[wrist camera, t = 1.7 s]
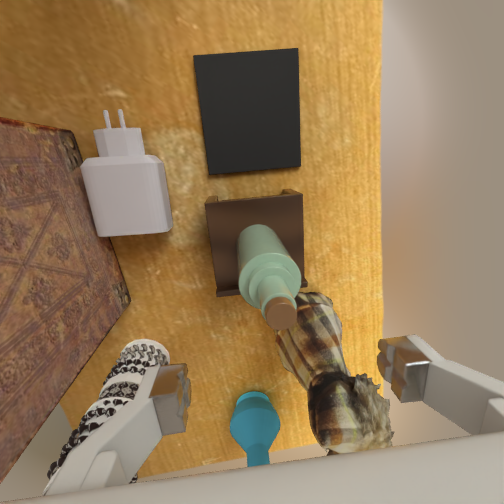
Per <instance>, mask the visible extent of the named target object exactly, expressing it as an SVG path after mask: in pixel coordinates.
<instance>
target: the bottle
mask: <svg viewBox="0 0 504 504" xmlns="http://www.w3.org/2000/svg"><path fill="white" fill-rule="evenodd" d="M236 252H237V267H238V283H239V290H240V293H241V295H242V297H243V298H244V300H245V301H246V302H247V303H249V304H250V305H251V306H253V307H255V308H258V309H261V313H262V316H263V318H264V319H265V320H266V322H267V324H268V325H269V326H270V327H271V328H273V329H275V330H286V329H288V328H290V327H291V326H292V325H293V324H294V323H295V321H296V319H297V311H296V309H297V306H296V302H295V300H294V298H295V297H296V295H297V294H298V292H299V289H300V286H301V274H300V270H299V268H298V266H297V265H296V263H295V262H294V260H293V259H292V257H291V255H290V254H289V252H288V251H287V249H286V248H285V246H284V245H283V243H282V242H281V240H280V239H279V237H278V235H277V234H276V233H275V231H274V230H273V229H271V228H270V227H268V226H265V225H260V224H257V225H252V226H249V227H247V228H246V229H244V230H243V231H242V232H241V233H240V235H239V237H238V239H237V242H236Z"/></svg>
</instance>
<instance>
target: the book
mask: <svg viewBox="0 0 504 504" xmlns="http://www.w3.org/2000/svg"><path fill="white" fill-rule="evenodd" d="M82 164H83V160H82V157H81V154H80V151H79V149H78V146H77V143H76V140H75V137H74V134H73V133H72V132H71V131H70V130H64V129H59V128H54V127H49V126H44V125H39V124H34V123H28V122H23V121H18V120H13V119H8V118H3V117H0V484H1V482H2V481H3V480H4V478H5V477H6V475H7V474H8V473H9V471H10V470H11V468H12V467H13V466H14V464H15V463H16V461H17V460H18V459H19V457H20V456H21V454H22V453H23V451H24V450H25V449H26V447H27V446H28V445H29V443H30V442H31V440H32V439H33V438H34V436H35V435H36V433H37V432H38V431H39V429H40V428H41V426H42V425H43V423H44V422H45V421H46V419H47V418H48V417H49V415H50V414H51V412H52V411H53V410H54V408H55V407H56V405H57V404H58V403H59V401H60V400H61V398H62V397H63V396H64V394H65V393H66V391H67V390H68V389H69V387H70V386H71V384H72V383H73V382H74V380H75V379H76V377H77V376H78V375H79V373H80V372H81V370H82V369H83V368H84V366H85V365H86V363H87V362H88V361H89V359H90V358H91V356H92V355H93V354H94V352H95V351H96V349H97V348H98V347H99V345H100V344H101V342H102V341H103V340H104V338H105V337H106V335H107V334H108V333H109V331H110V330H111V328H112V327H113V326H114V324H115V323H116V321H117V320H118V319H119V317H120V316H121V314H122V313H123V312H124V310H125V309H126V307H127V306H128V305H129V303H130V302H131V298H130V295H129V292H128V289H127V286H126V283H125V281H124V278H123V275H122V272H121V269H120V266H119V263H118V260H117V258H116V255H115V252H114V249H113V246H112V243H111V240H110V237H109V236H108V237H99V236H98V235H97V231H96V227H95V223H94V219H93V215H92V211H91V207H90V204H89V200H88V196H87V192H86V188H85V184H84V180H83V176H82V173H81V169H80V166H81V165H82Z"/></svg>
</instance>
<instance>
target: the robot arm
mask: <svg viewBox="0 0 504 504" xmlns="http://www.w3.org/2000/svg"><path fill="white" fill-rule="evenodd" d="M378 348H379V349H380V351H381V352H380V353H379V354H378V356H377V365H378V369H379V372H380V374H381V375H382V377H383V378H384V380H386V381H388V382H389V383H391V389H392V391H393V392H394V394H395V395H396V396H397V398H398V399H399V400H400V401H401V403H404V402H415V401H423V402H424V403H425V404H427V405H429V406H430V407H431V408H433V409H434V410H436V411H437V412H439V413H440V414H442V415H443V416H445V417H446V418H448V419H449V420H451V421H452V422H454V423H455V424H457V425H458V426H459V427H461V428H462V429H464V430H465V431H467V432H468V433H470V434H471V435H470V436H463V437H456V438H449V439H443V440H435V441H428V442H421V443H415V444H407V445H400V446H393V447H386V448H379V449H371V450H364V451H357V452H350V453H343V454H336V455H329V456H322V457H315V458H309V459H301V460H294V461H287V462H280V463H273V464H266V465H259V466H252V467H245V468H238V469H230V470H223V471H217V472H209V473H202V474H195V475H188V476H182V477H174V478H167V479H161V480H153V481H146V482H139V483H132V484H129V482H130V481H131V480H132V478H133V477H134V475H135V474H136V473H137V471H138V470H139V469H140V467H141V466H142V465H143V463H144V462H145V460H146V459H147V458H148V456H149V455H150V454H151V452H152V451H153V449H154V448H155V447H156V445H157V444H158V443H159V441H160V440H161V438H162V436H163V435H169V434H176V433H182V432H185V431H186V425H187V420H188V412H187V408H188V407H189V406H190V403H191V382H190V379H189V378H187V374H188V368H187V364H186V363H181V364H171V365H161V366H153V367H148V368H147V369H146V371H145V374H144V376H143V378H142V381H141V383H140V385H139V388H138V390H137V393H136V395H135V397H134V400H132V401H129V402H128V403H126V404H125V405H124V406H123V407H122V408H121V409H120V410H118V411H117V412H116V413H115V414H114V415H113V416H112V417H110V418H109V419H108V420H107V421H106V422H105V423H104V424H102V425H101V426H100V427H99V428H98V429H97V430H96V431H94V432H93V433H92V434H91V435H90V436H89V437H88V438H87V439H85V440H84V441H83V442H82V443H81V444H80V445H79V446H77V447H76V448H75V449H74V450H73V451H72V452H71V453H69V454H68V456H67V457H66V459H65V461H64V463H63V464H62V466H61V468H60V470H59V471H58V473H57V475H56V477H55V478H54V480H53V482H52V484H51V485H50V487H49V489H48V491H47V492H46V494H45V496H40V497H34V498H26V499H20V500H13V501H6V502H0V504H504V382H502V381H500V380H497V379H495V378H492V377H490V376H487V375H485V374H482V373H480V372H477V371H475V370H473V369H470V368H468V367H465V366H463V365H461V364H458V363H456V362H453V361H451V360H445V359H444V358H443V357H442V356H441V355H439V354H438V353H437V352H436V351H435V350H434V349H433V348H432V347H430V346H429V345H428V344H427V343H426V342H425V341H424V340H423V339H422V338H420V337H419V336H418V335H415V334H414V335H407V336H402V337H394V338H386V339H380V340H379V342H378Z"/></svg>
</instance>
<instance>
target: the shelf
mask: <svg viewBox="0 0 504 504" xmlns="http://www.w3.org/2000/svg"><path fill="white" fill-rule="evenodd" d="M205 210H206V217H207V224H208V231H209V238H210V245H211V252H212V259H213V265H214V272H215V279H216V286H217V289H216V295H217V297H224V296H233V295H241V293H240V290H239V283H238V267H237V252H236V242H237V239H238V237H239V235H240V233H241V232H242V231H243V230H244V229H246V228H247V227H249V226H252V225H257V224H260V225H265V226H268V227H270V228H271V229H273V230H274V231H275V233H276V234H277V235H278V237H279V239H280V240H281V242H282V243H283V245H284V246H285V248H286V249H287V251H288V252H289V254H290V255H291V257H292V259H293V260H294V262H295V263H296V265H297V266H298V268H299V270H300V274H301V286H300V288H303V287H307V280H306V279H305V278H304V230H303V194H301V193H299V192H297V191H294V190H292V189H283V195H273V196H263V197H253V198H242V199H232V200H222V201H218V198H217V196H209V198H208V199H207V201H206V202H205Z"/></svg>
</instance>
